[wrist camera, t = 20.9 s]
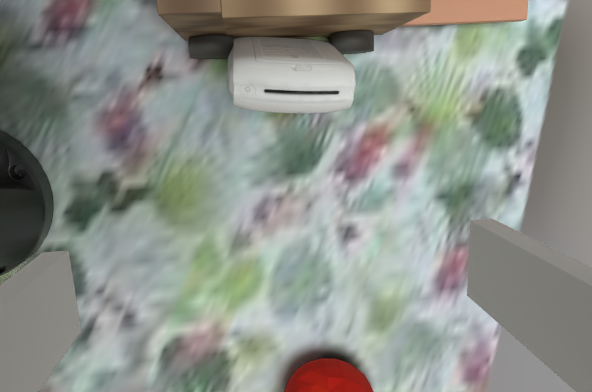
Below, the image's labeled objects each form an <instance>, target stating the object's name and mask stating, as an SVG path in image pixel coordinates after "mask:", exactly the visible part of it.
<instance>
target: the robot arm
mask: <svg viewBox="0 0 592 392" xmlns="http://www.w3.org/2000/svg"><path fill="white" fill-rule="evenodd" d="M52 216H53V198H52V192H51V188H50V185H49V182H48V179H47V177H46V175H45V172H44V171H43V169H42V167H41V165H40V164H39V163H38V161H37V160H36V159H35V157H34V156H33V155H32V154H31V153H30V152H29V151H28V150H27V149H26V148H25V147H24V146H23V145H22V144H21V143H20V142H18V141H17V140H15V139H14V138H13V137H11V136H9V135H8V134H6V133H4V132H2V131H0V276H1V275H3V274H5V273H7V272H9V271H11V270H12V269H14V268H15V267H17V266H18V265H20V264H21V263H22V262H24V261H25V260H26V259H28V258H29V257H30V256H31V255H32V254H34V252H35V251H36V250H37V249H38V248H39V247H40V246H41V244H42V243H43V241H44V239H45V238H46V236H47V233H48V231H49V228H50V225H51V222H52ZM467 296H468V297H470V298H471V299H472V300H473V301H474V302H475V303H476V304H478V305H479V306H480V307H481V308H482V309H483V310H484V311H485V312H487V313H488V314H489V315H490V316H491V317H492V318H493V319H494V320H496V321H497V322H498V323H499V324H500V325H501V326H502V327H504V328H505V329H506V330H507V331H508V332H509V333H510V334H511V335H513V336H514V337H515V338H516V339H517V340H518V341H519V342H521V343H522V344H523V345H524V346H525V347H526V348H527V349H529V351H531V352H532V353H533V354H534V355H535V356H536V357H537V358H539V359H540V360H541V361H542V362H543V363H544V364H545V365H547V366H548V367H549V368H550V369H551V370H552V371H553V372H554V373H555V374H557V375H558V376H559V377H560V378H561V379H562V380H563V381H565V382H566V383H567V384H568V385H569V386H570V387H571V388H572V389H574V390H575V391H576V392H592V267H590V266H588V265H586V264H584V263H582V262H580V261H578V260H576V259H573V258H571V257H569V256H567V255H565V254H563V253H561V252H559V251H557V250H555V249H553V248H551V247H549V246H547V245H545V244H543V243H540V242H539V241H537V240H535V239H533V238H530V237H528V236H526V235H524V234H522V233H520V232H518V231H516V230H514V229H512V228H510V227H508V226H506V225H504V224H502V223H500V222H498V221H496V220H493V219H479V220H470V238H469V263H468V288H467ZM80 332H81V325H80V319H79V313H78V307H77V301H76V294H75V288H74V282H73V276H72V270H71V263H70V257H69V251H56V252H43V253H41V254H40V255H39V256H37V257H36V258H35V259H33V260H32V261H31V262H30V263H28V264H27V265H26V266H24V267H23V268H22V269H20V270H19V271H18V272H16V273H15V274H14V275H12V276H11V277H10V278H9V279H7V280H6V281H5V282H3V283H2V284H1V285H0V392H39V391H40V389H41V388H42V386H43V385H44V384H45V382H46V381H47V379H48V378H49V376H50V375H51V374H52V372H53V371H54V369H55V368H56V366H57V365H58V364H59V362H60V361H61V359H62V358H63V357H64V355H65V354H66V352H67V351H68V349H69V348H70V347H71V345H72V344H73V342H74V341H75V339H76V338H77V337H78V335H79V334H80Z"/></svg>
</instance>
